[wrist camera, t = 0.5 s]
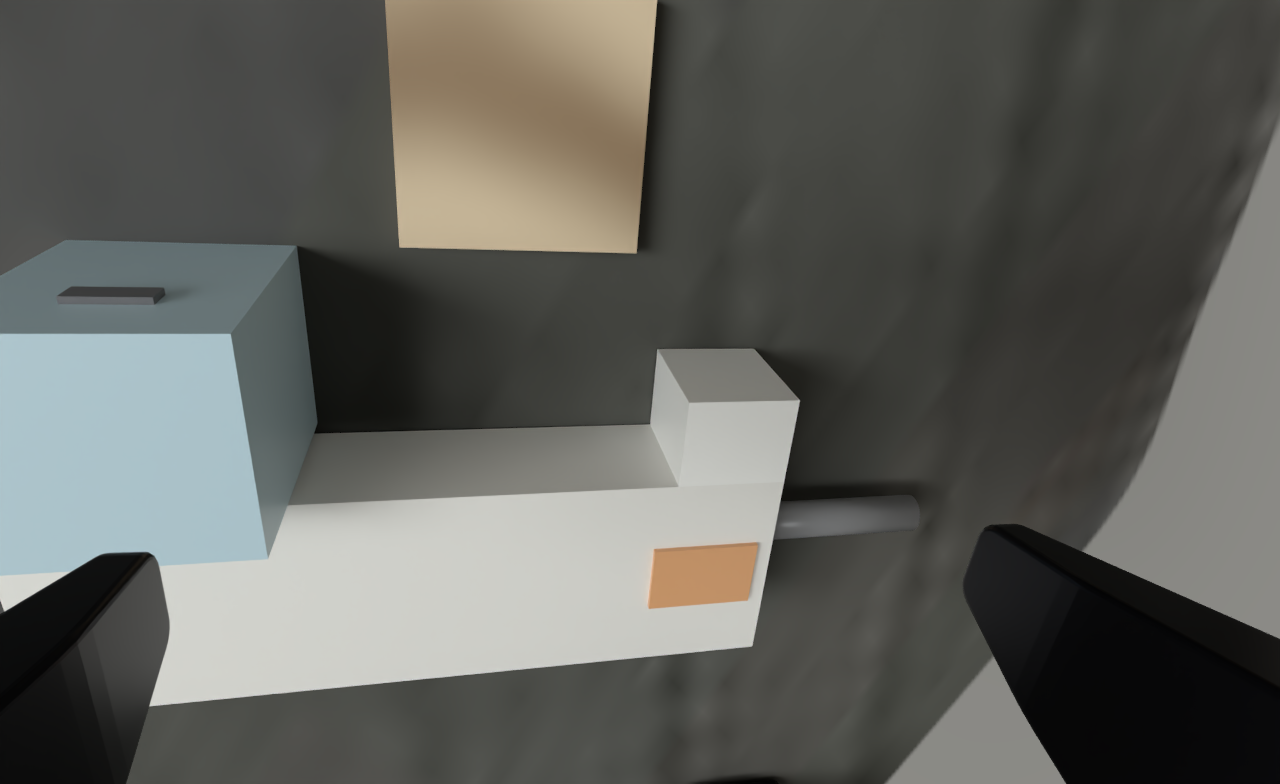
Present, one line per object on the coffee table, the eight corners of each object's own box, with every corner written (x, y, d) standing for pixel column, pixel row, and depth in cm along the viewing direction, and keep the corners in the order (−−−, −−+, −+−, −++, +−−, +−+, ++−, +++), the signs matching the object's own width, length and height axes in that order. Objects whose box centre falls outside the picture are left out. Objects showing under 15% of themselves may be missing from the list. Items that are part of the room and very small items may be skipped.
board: (631, 247, 20) (636, 253, 20) (401, 241, 19) (399, 247, 18) (651, -2, 18) (657, -2, 17) (386, -29, 16) (383, -31, 16)
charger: (325, 489, 22) (281, 639, 16) (131, 497, 20) (17, 662, 15) (296, 239, 18) (229, 326, 13) (64, 232, 17) (-110, 325, 12)
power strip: (873, 561, 27) (927, 632, 24) (102, 619, 22) (40, 721, 19) (930, 347, 24) (1003, 398, 20) (22, 351, 18) (-72, 422, 15)
